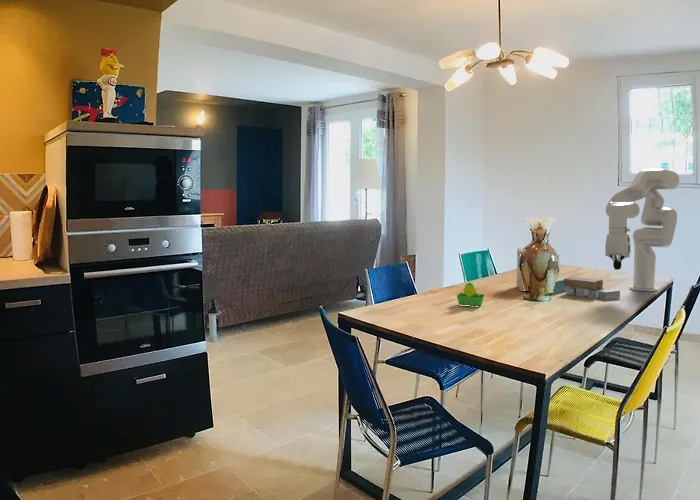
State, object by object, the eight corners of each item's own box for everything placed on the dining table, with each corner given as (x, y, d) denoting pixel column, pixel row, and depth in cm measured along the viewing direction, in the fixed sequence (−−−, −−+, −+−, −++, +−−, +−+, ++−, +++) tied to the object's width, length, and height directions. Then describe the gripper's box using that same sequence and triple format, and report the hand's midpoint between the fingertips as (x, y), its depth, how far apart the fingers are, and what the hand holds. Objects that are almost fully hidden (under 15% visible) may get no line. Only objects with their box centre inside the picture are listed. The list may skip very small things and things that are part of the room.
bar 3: (595, 295, 266) (595, 287, 265) (603, 296, 263) (603, 288, 263) (587, 298, 260) (587, 289, 259) (595, 299, 257) (595, 290, 256)
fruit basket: (484, 305, 247) (485, 280, 246) (480, 309, 239) (481, 284, 238) (460, 303, 252) (460, 279, 251) (455, 307, 244) (455, 282, 243)
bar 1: (572, 292, 274) (573, 285, 274) (580, 293, 271) (581, 286, 271) (565, 294, 268) (566, 288, 268) (574, 295, 266) (574, 289, 265)
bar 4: (612, 297, 260) (613, 289, 260) (619, 299, 256) (620, 290, 256) (598, 299, 257) (598, 290, 256) (605, 300, 253) (605, 292, 253)
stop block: (562, 289, 281) (562, 277, 280) (567, 290, 279) (568, 278, 278) (548, 293, 272) (548, 281, 271) (554, 294, 269) (554, 282, 269)
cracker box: (531, 292, 276) (532, 251, 273) (518, 291, 277) (519, 251, 274) (527, 287, 289) (528, 248, 287) (516, 286, 290) (516, 247, 288)
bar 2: (581, 293, 270) (581, 285, 270) (590, 294, 268) (590, 286, 267) (575, 296, 264) (575, 288, 263) (584, 297, 261) (584, 289, 260)
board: (572, 284, 274) (572, 276, 273) (602, 287, 263) (602, 279, 262) (563, 286, 268) (563, 278, 267) (594, 290, 257) (594, 282, 256)
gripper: (637, 230, 250) (637, 269, 253) (604, 228, 261) (604, 266, 264) (631, 232, 245) (630, 272, 248) (598, 230, 256) (597, 269, 259)
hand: (617, 269), depth 256 cm, fingers closed
